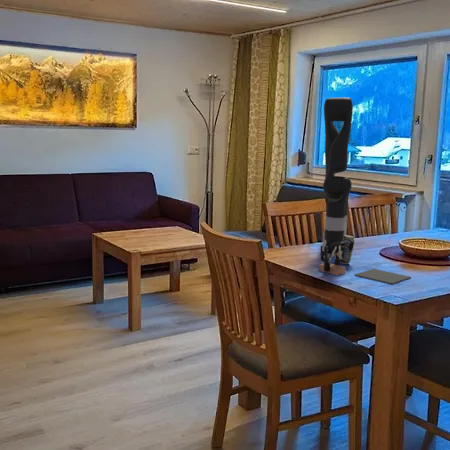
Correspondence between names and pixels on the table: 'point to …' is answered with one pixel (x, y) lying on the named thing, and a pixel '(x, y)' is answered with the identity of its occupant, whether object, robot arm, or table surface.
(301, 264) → the table surface
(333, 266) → the tan rectangular block
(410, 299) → the table surface
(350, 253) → the beverage can
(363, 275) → the mat
